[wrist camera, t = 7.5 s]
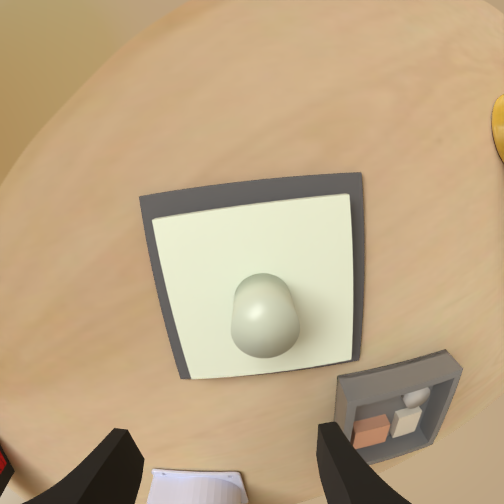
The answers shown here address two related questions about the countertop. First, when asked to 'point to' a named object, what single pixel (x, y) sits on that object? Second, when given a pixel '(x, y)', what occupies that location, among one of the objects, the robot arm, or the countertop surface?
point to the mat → (253, 194)
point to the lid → (260, 285)
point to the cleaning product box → (4, 471)
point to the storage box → (396, 405)
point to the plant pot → (498, 125)
